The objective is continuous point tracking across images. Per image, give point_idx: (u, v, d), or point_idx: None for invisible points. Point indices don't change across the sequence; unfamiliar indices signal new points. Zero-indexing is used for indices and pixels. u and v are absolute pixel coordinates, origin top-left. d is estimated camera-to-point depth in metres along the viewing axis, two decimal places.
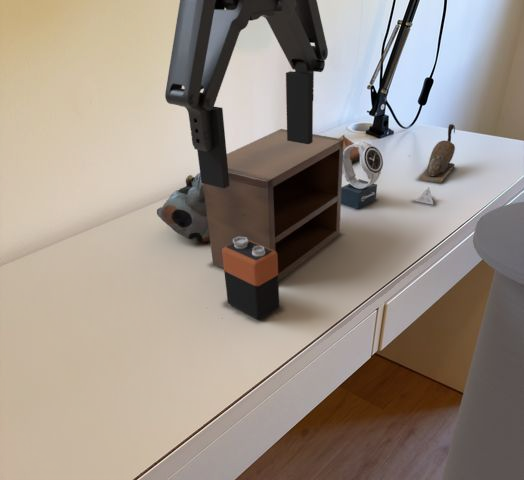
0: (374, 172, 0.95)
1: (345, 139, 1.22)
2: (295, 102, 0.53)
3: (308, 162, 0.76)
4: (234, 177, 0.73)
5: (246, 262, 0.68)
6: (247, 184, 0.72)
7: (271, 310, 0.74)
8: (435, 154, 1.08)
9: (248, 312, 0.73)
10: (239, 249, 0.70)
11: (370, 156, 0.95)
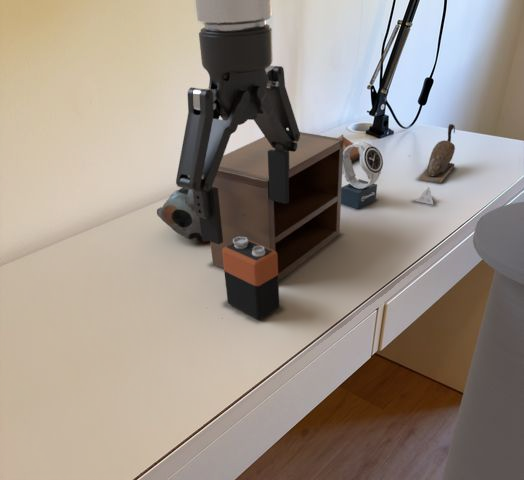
0: (374, 172, 0.95)
1: (344, 139, 1.22)
2: (275, 173, 0.68)
3: (308, 162, 0.76)
4: (234, 177, 0.73)
5: (246, 262, 0.68)
6: (247, 184, 0.72)
7: (271, 310, 0.74)
8: (435, 154, 1.08)
9: (248, 312, 0.73)
10: (239, 249, 0.70)
11: (370, 156, 0.95)
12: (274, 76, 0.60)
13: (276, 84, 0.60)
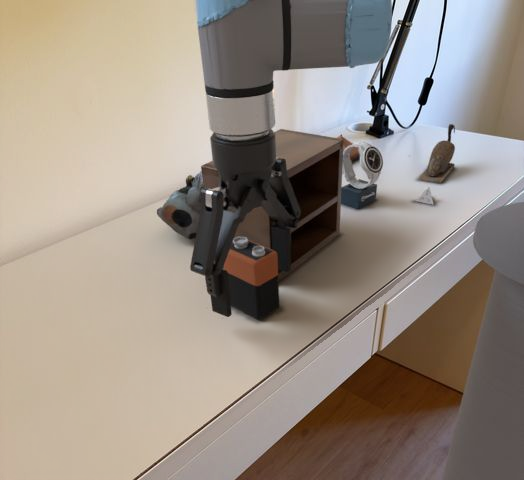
0: (374, 172, 0.95)
1: None
2: (278, 245, 0.75)
3: (308, 162, 0.76)
4: None
5: (246, 262, 0.68)
6: None
7: (271, 310, 0.74)
8: (435, 154, 1.08)
9: (248, 312, 0.73)
10: (239, 249, 0.70)
11: (370, 156, 0.95)
12: (277, 167, 0.67)
13: (279, 174, 0.67)
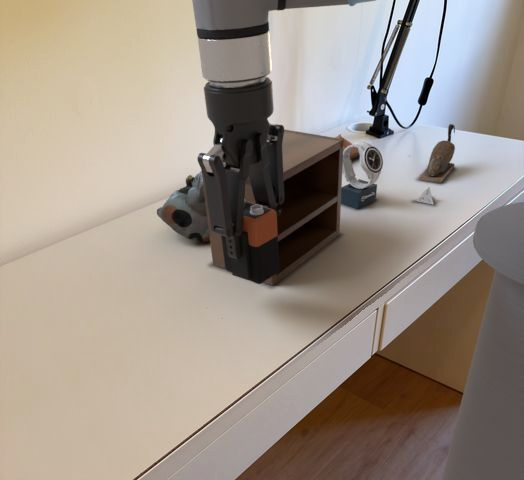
0: (374, 172, 0.95)
1: (342, 138, 1.23)
2: None
3: (308, 162, 0.76)
4: None
5: (244, 222, 0.65)
6: (247, 184, 0.72)
7: (271, 274, 0.70)
8: (435, 154, 1.08)
9: None
10: None
11: (370, 156, 0.95)
12: (275, 132, 0.64)
13: (275, 138, 0.64)
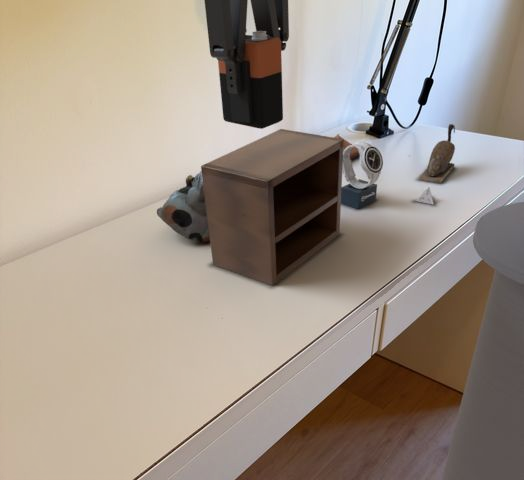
0: (374, 172, 0.95)
1: (340, 138, 1.23)
2: None
3: (308, 162, 0.76)
4: (234, 177, 0.73)
5: (246, 47, 0.59)
6: (247, 184, 0.72)
7: (274, 119, 0.64)
8: (435, 154, 1.08)
9: None
10: None
11: (370, 156, 0.95)
12: None
13: None
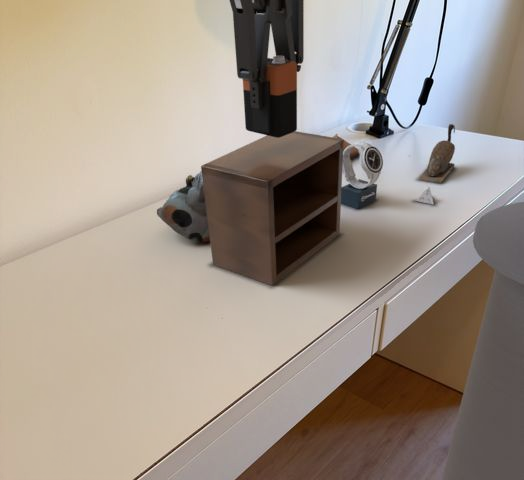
0: (374, 172, 0.95)
1: (339, 138, 1.23)
2: None
3: (308, 162, 0.76)
4: (234, 177, 0.73)
5: (267, 69, 0.70)
6: (247, 184, 0.72)
7: (289, 130, 0.75)
8: (435, 154, 1.08)
9: None
10: None
11: (370, 156, 0.95)
12: None
13: None
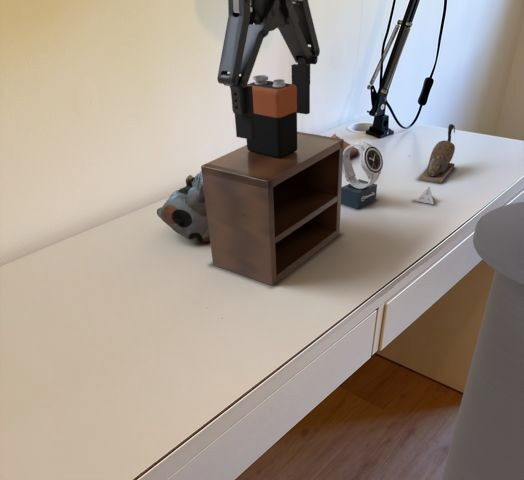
0: (374, 172, 0.95)
1: None
2: (298, 85, 0.78)
3: (308, 162, 0.76)
4: (234, 177, 0.73)
5: (268, 93, 0.72)
6: (247, 184, 0.72)
7: (290, 150, 0.77)
8: (435, 154, 1.08)
9: (268, 152, 0.77)
10: (260, 85, 0.73)
11: (370, 156, 0.95)
12: None
13: None
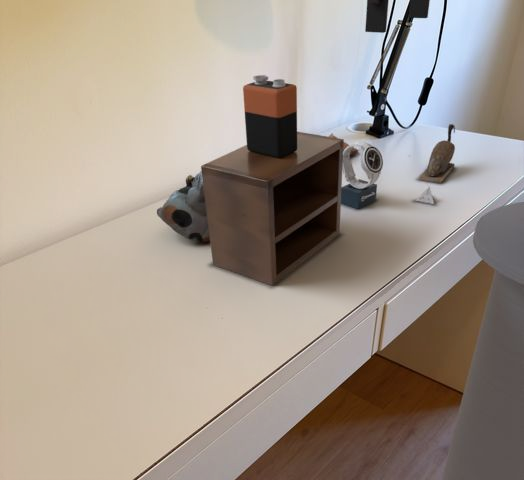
0: (374, 172, 0.95)
1: (334, 137, 1.24)
2: None
3: (308, 162, 0.76)
4: (234, 177, 0.73)
5: (268, 93, 0.72)
6: (247, 184, 0.72)
7: (290, 150, 0.77)
8: (435, 154, 1.08)
9: (268, 152, 0.77)
10: (260, 85, 0.73)
11: (370, 156, 0.95)
12: None
13: None
